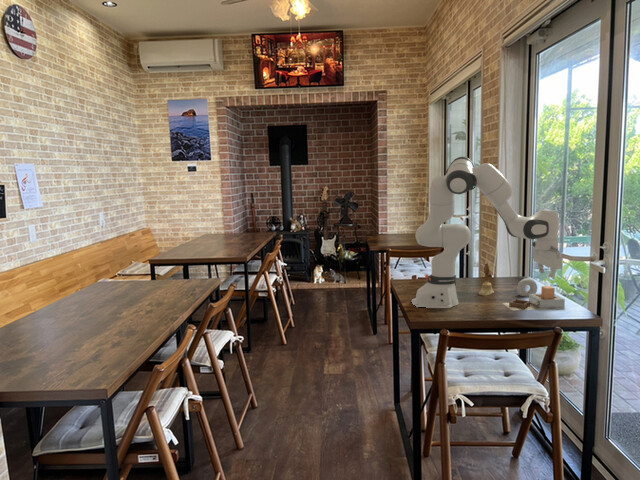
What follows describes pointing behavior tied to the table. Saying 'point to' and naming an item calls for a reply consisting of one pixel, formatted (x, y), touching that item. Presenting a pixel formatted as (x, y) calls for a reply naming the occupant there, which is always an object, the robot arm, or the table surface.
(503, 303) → the board
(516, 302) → the peg holder
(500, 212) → the robot arm
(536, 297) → the socket block
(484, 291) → the hand bell
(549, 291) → the peg
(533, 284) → the donut
